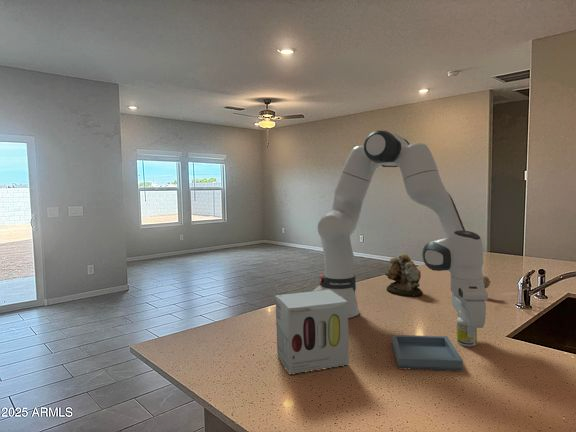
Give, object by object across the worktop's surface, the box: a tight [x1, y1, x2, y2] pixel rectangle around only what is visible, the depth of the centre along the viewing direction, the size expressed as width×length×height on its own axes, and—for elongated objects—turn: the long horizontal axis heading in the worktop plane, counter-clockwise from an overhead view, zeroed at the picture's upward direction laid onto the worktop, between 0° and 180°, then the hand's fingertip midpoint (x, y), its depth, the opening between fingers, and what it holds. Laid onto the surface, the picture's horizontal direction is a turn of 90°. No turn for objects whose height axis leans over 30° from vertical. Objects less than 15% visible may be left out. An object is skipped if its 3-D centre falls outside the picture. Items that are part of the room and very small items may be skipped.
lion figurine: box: [483, 275, 492, 289], centre depth 164 cm, size 15×5×9 cm, turn 34°
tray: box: [391, 334, 464, 372], centre depth 109 cm, size 16×16×3 cm
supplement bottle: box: [456, 311, 478, 347], centre depth 116 cm, size 5×5×10 cm
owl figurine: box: [384, 253, 424, 298], centre depth 172 cm, size 18×12×17 cm, turn 39°
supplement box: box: [275, 289, 350, 375], centre depth 108 cm, size 17×13×18 cm
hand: (466, 331), depth 116 cm, fingers open, 6 cm apart
